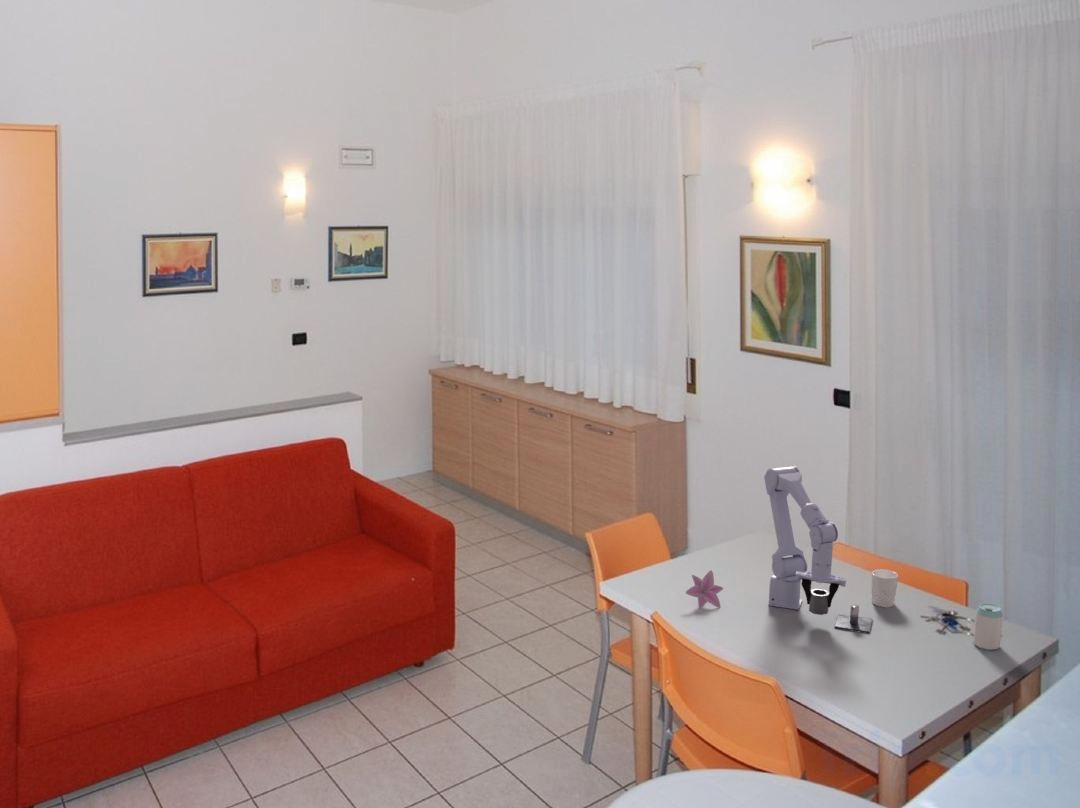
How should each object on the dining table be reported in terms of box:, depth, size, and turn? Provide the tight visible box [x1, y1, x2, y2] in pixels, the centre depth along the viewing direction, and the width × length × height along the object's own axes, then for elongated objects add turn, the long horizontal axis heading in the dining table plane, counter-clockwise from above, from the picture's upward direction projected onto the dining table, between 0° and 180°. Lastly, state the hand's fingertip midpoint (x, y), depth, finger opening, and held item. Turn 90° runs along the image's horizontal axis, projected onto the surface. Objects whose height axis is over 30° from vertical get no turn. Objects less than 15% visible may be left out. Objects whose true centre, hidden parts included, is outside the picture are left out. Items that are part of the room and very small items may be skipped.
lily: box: [685, 569, 724, 610], centre depth 321 cm, size 12×12×10 cm
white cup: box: [871, 568, 899, 608], centre depth 321 cm, size 8×8×10 cm
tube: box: [808, 588, 830, 616], centre depth 305 cm, size 5×5×6 cm
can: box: [972, 603, 1004, 651], centre depth 290 cm, size 7×7×12 cm
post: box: [834, 604, 873, 634], centre depth 306 cm, size 10×10×6 cm
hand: (819, 604), depth 305 cm, fingers closed on tube, 5 cm apart
